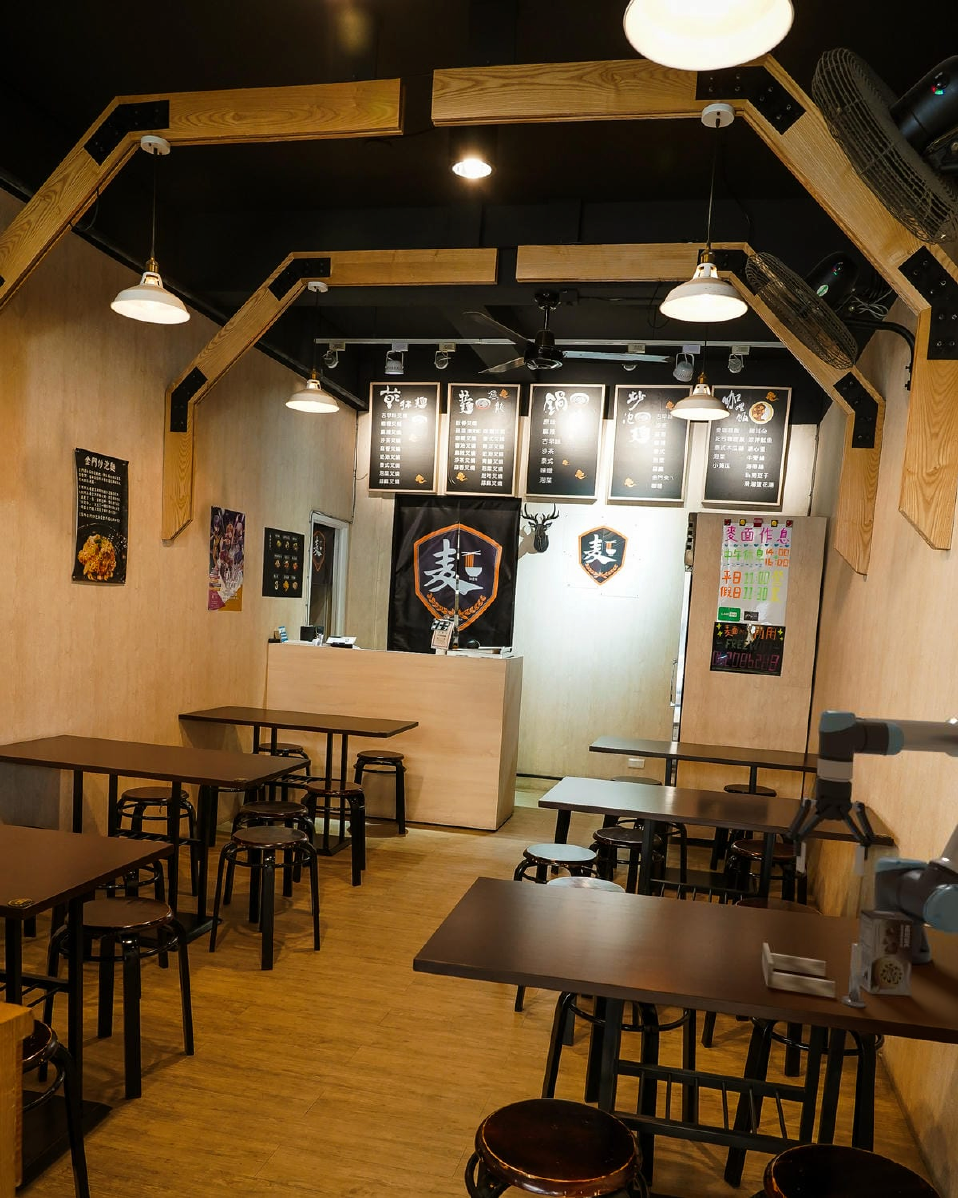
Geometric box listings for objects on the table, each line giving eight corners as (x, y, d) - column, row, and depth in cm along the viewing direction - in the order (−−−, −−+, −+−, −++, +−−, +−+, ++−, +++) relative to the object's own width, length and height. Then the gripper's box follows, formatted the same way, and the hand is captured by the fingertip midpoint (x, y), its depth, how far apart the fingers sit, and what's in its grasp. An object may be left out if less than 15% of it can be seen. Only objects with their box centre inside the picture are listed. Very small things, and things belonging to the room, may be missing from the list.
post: (862, 1001, 186) (866, 943, 187) (867, 1009, 182) (870, 949, 182) (840, 997, 187) (844, 939, 188) (844, 1005, 183) (847, 946, 183)
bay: (824, 975, 200) (825, 952, 201) (834, 997, 187) (835, 973, 187) (761, 965, 204) (763, 942, 204) (767, 986, 190) (768, 963, 190)
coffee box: (895, 985, 198) (900, 911, 199) (910, 996, 191) (915, 920, 192) (855, 982, 197) (859, 908, 198) (869, 993, 191) (873, 917, 192)
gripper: (879, 779, 208) (874, 871, 207) (774, 772, 207) (769, 865, 206) (896, 785, 201) (891, 880, 200) (787, 777, 199) (782, 874, 198)
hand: (829, 873), depth 203 cm, fingers open, 13 cm apart
